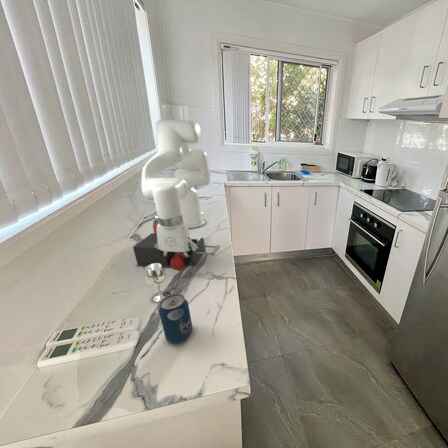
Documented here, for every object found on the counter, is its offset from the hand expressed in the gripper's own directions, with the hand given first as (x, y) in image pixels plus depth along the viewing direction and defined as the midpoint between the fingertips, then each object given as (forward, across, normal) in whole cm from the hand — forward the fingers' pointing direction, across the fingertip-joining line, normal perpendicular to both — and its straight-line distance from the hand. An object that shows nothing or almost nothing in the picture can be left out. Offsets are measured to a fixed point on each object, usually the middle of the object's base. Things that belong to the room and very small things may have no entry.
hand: (179, 263), depth 90 cm
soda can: (+6, +12, -27) cm, 30 cm away
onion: (+3, 0, 0) cm, 3 cm away
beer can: (+7, -21, +25) cm, 34 cm away
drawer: (+5, -1, +12) cm, 14 cm away
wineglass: (+6, -2, -12) cm, 13 cm away
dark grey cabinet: (+6, -14, +12) cm, 20 cm away
